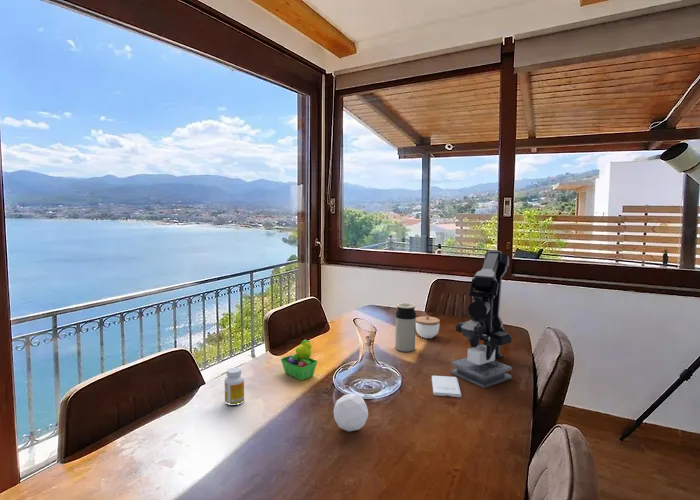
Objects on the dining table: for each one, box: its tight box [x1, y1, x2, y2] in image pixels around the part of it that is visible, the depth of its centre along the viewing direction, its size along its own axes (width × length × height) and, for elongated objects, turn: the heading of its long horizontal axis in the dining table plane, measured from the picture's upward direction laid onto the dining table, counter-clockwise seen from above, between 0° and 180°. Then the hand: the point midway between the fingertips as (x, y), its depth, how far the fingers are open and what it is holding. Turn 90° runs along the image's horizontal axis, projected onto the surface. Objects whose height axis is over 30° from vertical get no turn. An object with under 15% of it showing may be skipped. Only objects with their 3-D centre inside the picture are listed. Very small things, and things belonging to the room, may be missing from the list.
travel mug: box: [394, 302, 417, 353], centre depth 161 cm, size 8×8×18 cm
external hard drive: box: [431, 375, 462, 398], centre depth 127 cm, size 2×8×12 cm
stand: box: [450, 356, 513, 389], centre depth 136 cm, size 14×14×4 cm
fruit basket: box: [280, 339, 318, 381], centre depth 136 cm, size 11×9×11 cm
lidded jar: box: [415, 315, 441, 339], centre depth 178 cm, size 11×11×9 cm
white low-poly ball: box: [333, 393, 369, 432], centre depth 104 cm, size 9×9×12 cm
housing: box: [466, 344, 496, 365], centre depth 135 cm, size 5×8×5 cm, turn 123°
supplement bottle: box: [224, 367, 245, 404], centre depth 115 cm, size 5×5×10 cm
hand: (481, 357), depth 136 cm, fingers closed on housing, 5 cm apart
